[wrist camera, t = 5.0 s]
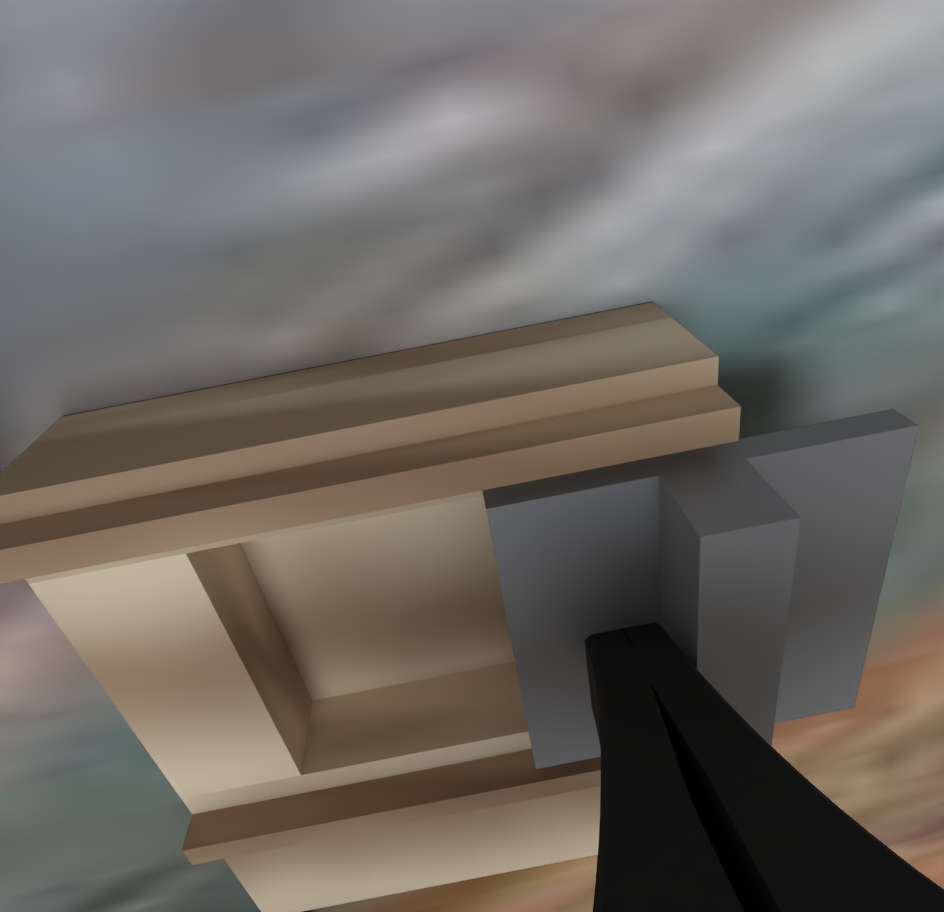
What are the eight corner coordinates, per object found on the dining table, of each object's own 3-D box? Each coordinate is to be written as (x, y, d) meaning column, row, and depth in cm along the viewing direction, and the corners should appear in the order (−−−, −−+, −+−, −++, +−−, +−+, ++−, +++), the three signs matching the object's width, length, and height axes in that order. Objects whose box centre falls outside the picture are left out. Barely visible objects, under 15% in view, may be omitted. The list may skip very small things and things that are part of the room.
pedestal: (660, 736, 19) (712, 866, 16) (284, 809, 19) (260, 953, 16) (653, 301, 12) (743, 375, 9) (60, 416, 12) (-64, 532, 9)
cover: (837, 685, 14) (905, 777, 12) (530, 744, 14) (551, 845, 12) (892, 408, 10) (1002, 479, 8) (482, 488, 10) (499, 575, 9)
